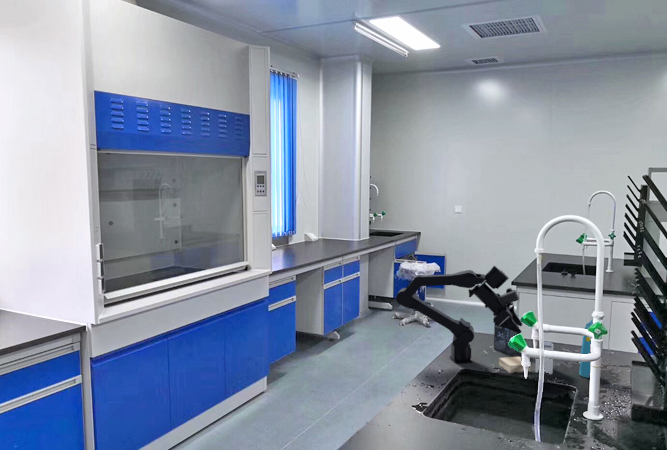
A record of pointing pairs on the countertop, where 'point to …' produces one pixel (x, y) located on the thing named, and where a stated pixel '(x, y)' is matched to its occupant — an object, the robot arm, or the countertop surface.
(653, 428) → the countertop surface
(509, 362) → the block
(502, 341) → the box
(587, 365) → the blue plastic bottle
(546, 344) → the carton
